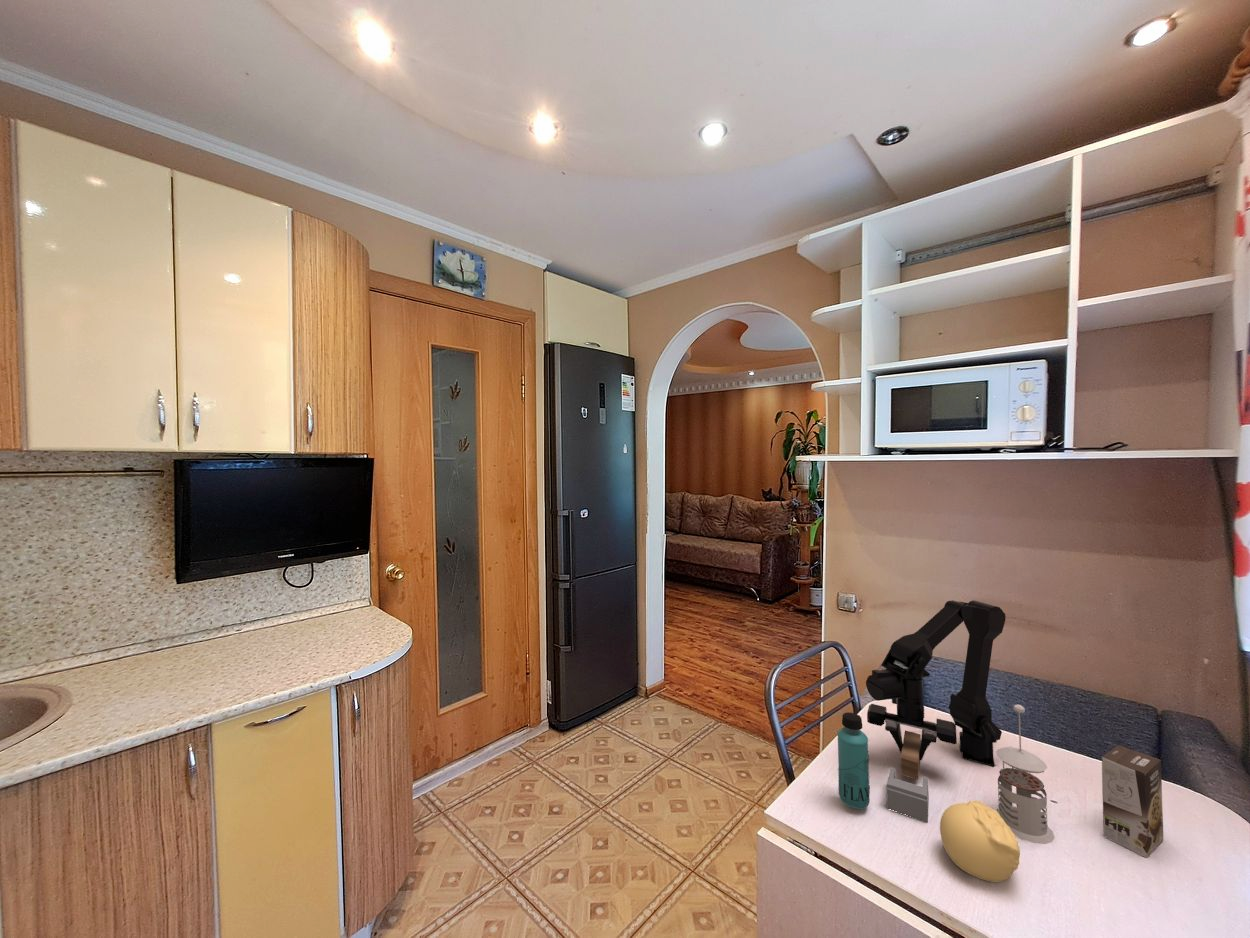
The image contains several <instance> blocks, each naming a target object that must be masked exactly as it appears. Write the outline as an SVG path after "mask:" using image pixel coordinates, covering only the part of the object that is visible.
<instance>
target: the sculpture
mask: <svg viewBox="0 0 1250 938" xmlns="http://www.w3.org/2000/svg"><path fill="white" fill-rule="evenodd" d="M996 810H997V809H994V808H993V807H990V806H988V805H987V804H985V803H984V802H982V801H980V800H969V802H968V803H965V802H959V803H955V804H952V805H950V806H949V807H947V808H946V809H944V812H943V813H942V815H941V818H940V822H939V823H940V824H939V833H940V838H941V841H942V842H941V843H942V844H943V847H944V849H945V851H946V853H947V855H948V857H949V858H950V859H951V861H952V862H953V863H954V864H955V865H956V866H957V867H959V868H960V869H961V870H962V871H964V872H966V874H970V875H971V876H973V877H975V878H977V879H981V880H983V881H987V882H993V883H1000V882H1001V883H1002V882H1003V881H1006V880H1008V879H1009V878H1010V877H1011V875H1012V874H1013V873H1014V872H1015V871H1017V869H1018V867H1019V865H1020V856H1021V850H1020V845H1019V841H1018V839H1017V837H1016V836H1015V834H1014V833H1013V832H1012V831H1011V829H1010V827H1009V826H1008V825H1007V824H1006V823H1005V821H1004V820H1003V819H1002V818H1001V816H1000V814H999V813H998V812H997V811H996Z"/></svg>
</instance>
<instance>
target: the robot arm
mask: <svg viewBox="0 0 1250 938" xmlns="http://www.w3.org/2000/svg"><path fill="white" fill-rule="evenodd" d="M962 623H963V624H964V625H965V628H966V630H967V633H968V642H967V647H966V649H967V650H966V656H965V661H964V670H963V676H962V686H961V689H960V690H959V691H958V692H957V693H956V694H954V693H951V695H950V697H949V698H950V699H949V700H950V701H949V706H948V709H949V715H950V716H951V718H952V720H953V721H950V720H946V719H945V720H944V719H941V718H936V721H935V722H933V721H929V720H925V705H924V687H923V686H924V685H923V683H924V681H923V680H924V679H923V678H926V677H927V678H928V677H930V676H931V674H930V673H929V672H928V670H927V669H925V668H926V666H928V664H929V663H930V661H932V658H933V651H934V650H935V649H936V647H937V646H938V645H939V644H940V643H942V642H943V641H944V640H945V639H946V638H947V637H948V636H949V635H950V634H951V633H953V631H954V630H956V629H957V627H959V626H960V625H961V624H962ZM1005 623H1006V612H1004V610H1003V609H1002V608H1001V607H1000V606H997V605H993V604H989V603H986V602H981V601H979V600H975V599H973V600H971V601H969V602H965V601H956V600H948V601H946V602H945V604H944V606H943V608H941V609H940V610H939V611H938V612H937V613H936V614H935V615H934V616H933V617H931V618H930V619H929V620H928V621H927V622H926V623H924V625H922V626H921V627H920V628H919V629H918V630H917V631H916V632H913V633H911V634H910V633H909V634H906V635H902V636H901V637H900V638H898V639H897V640H895V641H894V642H893V643H892V644H891V646H890V648H889V650H888V652H887V654H886V656H885V657H884V659H883V661H882V662H881V664H880V665H881V667H883V669H872V671H871V674H870V675H868V676H867V678H866V680H865V687H866V689H867V692H868V694H869V695H870V696H871V698H872V699H873V700H874V701H877V702H878V701H880V702H881V701H884V700H885V701H887V700H891V703H892V704H893V705H896V713H890V712H887V707H886V706H883V705H879V704H875V703H871V704H870V705H868V709H867V713H866V718H867V719H866V722H867V723H868V724H870V725H874V726H879V727H881V726H883V725H885V726H884V730H885V731H887V732H889V734H891V737H892V738H893V739H894V741H895V744H896V746H897V748H898V751H899V753H900V754H901V753H902V746H903V737H902V730H901V725H904V726H908V727H911V728H915V729H920V730H921V744H920V753H919V758H920V761H922V760H923V758H924V756H925V753H926V750H927V749H928V748H929V746H930V744H931V743H935V744H937V739H938V740H939V741H940V742H942V743H943V742H944V743H948V744H951V745H956V744H957V743H958V742H957V740H958V739H957V738H958V737H957V736H958V735H957V727H959V728H961V731H959V751H960V753H962V758H963V759H965V760H968V761H969V760H970V761H973V762H977V763H980V764H984V765H988V766H992V767H995V766H996V765H995V758H994V744H996V743H997V741H1000V740H1001V737H1002V733H1003V732H1002V730H1001V729H1000V728H999V727H998V726H997V725H996V724H995V723H994V722H993V721H992V719H993V718H992V716H993V715H992V714H993V711H992V708H991V706H990V704H989V702H988V699H987V695H986V694H987V689H988V681H989V674H990V668H991V667H990V666H991V661H992V660H991V659H992V650H993V645H994V641H995V639H997V637H999V636H1000V634H1002V633H1003V630H1004V627H1005ZM898 664H900V665H902V666H903V667H901V666H900V665H898Z"/></svg>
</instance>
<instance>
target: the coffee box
mask: <svg viewBox="0 0 1250 938" xmlns="http://www.w3.org/2000/svg"><path fill="white" fill-rule="evenodd" d="M1101 779H1102V781H1101V782H1102V783H1101V784H1102V819H1103V820H1102V827H1103V829H1102V831H1103V833H1102V835H1103V837H1104V838H1106V839H1108V840H1110V841H1111V842H1114V843H1115V844H1118V845H1120V846H1122V847H1124V848H1126V849H1127V850H1130V851H1132V852H1134V853H1136V854H1138V855H1140V856H1141V855H1142V857H1143V856H1144V857H1143V858H1149V856H1150V855H1151V854H1152V853H1153V852H1154V851H1155V850H1156V849H1157V848H1158V847H1159V846H1160V845H1161V844H1162V843H1163V842H1164V840H1165V839H1164V813H1163V810H1164V809H1163V785H1162V783H1163V782H1162V759H1159V758H1157V757H1154V756H1151V755H1149V754H1146V753H1143V752H1140V751H1138V750H1134V749H1130V748H1128V747H1125V746H1122V745H1120V744H1117V745H1116V746H1115V747H1113V748H1112V749H1111V750H1110V751H1108V752H1107V753H1105V754H1104V755H1102V756H1101Z"/></svg>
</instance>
